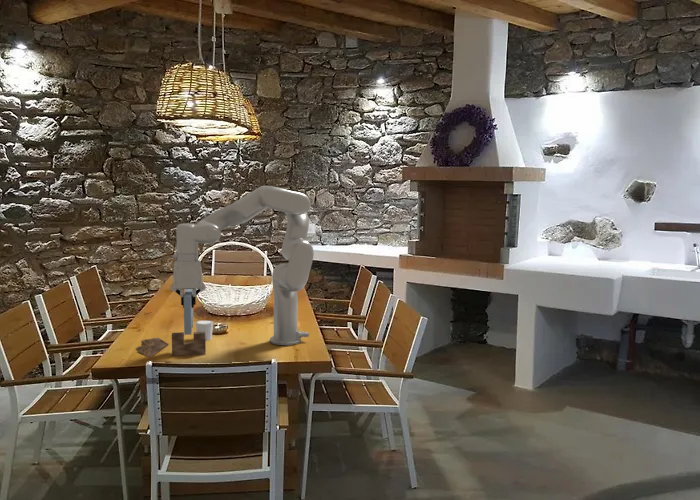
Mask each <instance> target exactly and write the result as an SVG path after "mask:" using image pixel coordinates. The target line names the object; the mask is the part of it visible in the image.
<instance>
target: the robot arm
mask: <svg viewBox="0 0 700 500" xmlns="http://www.w3.org/2000/svg"><path fill="white" fill-rule="evenodd" d="M310 208H311V201H310V198H309V196H308V195H306V194H305V193H303V192H298V191H293V190H289V189H286V188H285V189H284V188H282V187H277V186H273V185H261V186H259V187H258V188H256V189H254V190H252V191H251V192H249V193H247V194H246V195H244V196H243V197H240V199H238V200H236V201H235V202H233V203H230V204H228V205H226V206H224V207H223V208H220V209H218V210H217V211H214V212H213V213H211V214H209V215H207V216H206V217H204V218H202V219H201V220H200V221H198V222H196V223H185V222H184V223H179V224H177V226H176V228H175V229H176V231H175V232H176V253H175V254H172V258H173V259H176V261H174V264H173V265H174V266H173V279H172V285H171V286H170V291H172V292H175V294H177V295H178V296H180V305H181V306H182V308H183V309H184V294H185V290H186V289H192V292H193V294H192V308H193V309H194V307H195V306H196V305H197V304H196V303H197V302H196V299H197V298H196V297H197V295H198V294H200V293H201V292H203V291H205V290H206V285H205V282H204V281H203V269H202V263H201V260H199V244H206V245H207V244H209V245H210V244H214V243H217V242H218V241H219V240H220V239H221V236H222V231H223V230H225V229H227V228H229V227H232V226H237V225H242V224H244V223H248V221H250V220H252V219H254V218H255V217H256V216H258V215H259V214H260V213H262V212H264V211H266V210H267V209H271V210H274V211H279V212H283V213H284V214H285V216H286V220H287V223H286V231H285V234H284V237H283V242H282V245H281V252H280V253H281V255H282V257H283V258H284V259H285V260H287V261H288V263H284V262H283V263H279V264H278V265H276V266H275V267H274V269H273V270H272V274H271V282H272V289H273V335H272V336H271V337H269V343H271V344H273V345H275V346H277V345H278V346H294V345H297V344H300V343H301V342H302V338H309V337H310V332H309V331H303V330H302V331H299V328H298V314H299V313H298V309H299V308H298V304H299V303H298V301H299V299H298V298H299V297H298V292H300V291H302V290H303V289H304V288H305V286H306V284H307V282H308V280H309V276H310V272H311V268H312V265H313V260H314V255H315V254H314V248H313V246H312V244H311V243H310V242H309V241H308V240H307V237H308V234H309V233H308V232H309V228H310V226H309V225H310V219H309V216H308V212H309V211H310Z"/></svg>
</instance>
